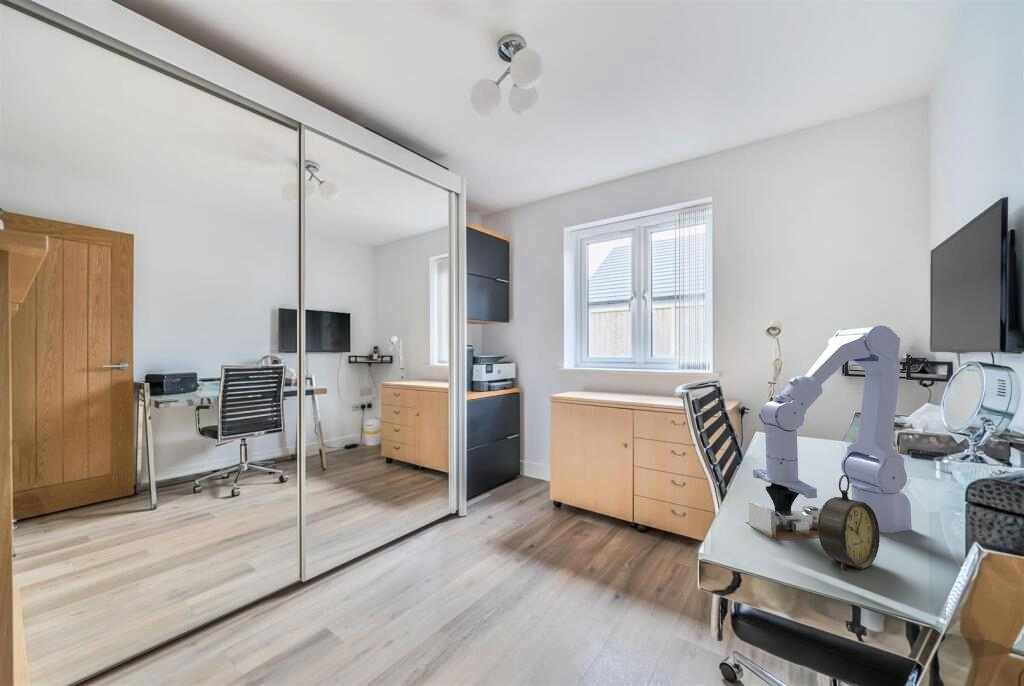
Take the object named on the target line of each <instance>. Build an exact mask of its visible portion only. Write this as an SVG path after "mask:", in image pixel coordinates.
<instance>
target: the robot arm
mask: <svg viewBox="0 0 1024 686" xmlns="http://www.w3.org/2000/svg"><path fill="white" fill-rule="evenodd" d="M900 343H901V338H900V337H899V336H898V335H897V333H896V332H895V331H894V330H892V328H890V327H888V326H886V325H880V324H879V325H875V326H867V327H866V326H865V327H857V328H843V329H840V330H838V331H836V333H835V334H834V335H833V336H832V337H831V338H830V339H829V340H828V346H827V347H826V349H825V350H824V351H823V353H822V354H821V355H820V356H819V358H818V359H817V360H816V361H815V363H814V364H813V365H812V366H811V367H810V369H809V370H808V371H807V372H806V374H805V375H797V376H795V377H791V378H790V379H789V380H788V384H787V386H786V387H785V388H784V389H783V390H782V391H781V392H780V393H779V394H776V395H775V397H774V399H773V400H774V401H773V400H771V401H768V402H766V403H764V404H763V406H761V409H760V412H758V418H759V420H760V423H762V424H763V431H764V432H765V433H764V434H765V465H766V467H765V468H766V469H762V468H754V469H752V477H753V478H755V479H760V480H763V482H766V483H769V484H770V485H766V486H765V491H766V492H767V494H768V495H769V498H770V499H771V500H772V503H773V506H774V511H775V513H776V512H781V511H792V506H793V504H794V502H795V500H796V499H797V497H798V496H799V495H802V496H804V498H806V499H817V498H818V490H817V487H814V486H812V485H810V484H808V483H806V482H804V481H803V480H801V479H799V464H798V463H799V462H798V461H799V460H798V459H799V457H798V455H799V453H798V429H799V428H800V427H802V426H803V425H804V421H805V415H806V413H807V410H808V409H809V408H810V407H811V406H812V405H813V404H815V402H816V401H817V400H818V398H819V397H820V396H821V395H822V394H823V386H822V385H823V384H824V383H825V382H827V380H828V379H830V378H831V376H833V375H834V374H835V373H836V372H838V370H839V369H840V368H841V367H842V366H843V365H845V364H846V363H847V362H849V361H851V362H853V363H855V364H856V365H858V366H859V367H860V368H861V369H863V370H864V372H865V373H864V374H865V375H864V382H863V383H864V384H863V392H862V402H861V409H860V418H859V427H858V428H859V429H858V435H857V440H856V441H855V442H852V443H850V444H849V445H848V446H847V447H846V452H845V455H844V456H843V458H842V460H841V464H840V466H841V467H840V468H841V471H842V473H843V475H847V476H848V478H849V482H850V485H851V487H850V488H851V500H855V501H861V502H864V503H866V504H868V505H869V506H870V507H871V508H872V510H873V511H874V513H875V515H876V518H877V521H878V525H879V533H887V534H890V533H892V534H895V533H898V532H902V531H903V532H905V531H913V526H912V507H911V506H912V505H911V502H910V499H909V498H908V496H907V495H906V494H905V493H904V492H903V491H902V490H903V489H904V488H905V486H906V485H907V481H908V475H907V472H906V468H905V458H904V457H903V456H902V455H901V454H900V452H898V451H897V450H896V449H895V448H894V447H893V438H894V428H895V419H896V411H897V401H898V392H899V383H900V374H901V361H900V357H899V356H900V355H899V354H900V347H901V346H900ZM872 456H873V457H872Z"/></svg>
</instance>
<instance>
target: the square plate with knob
mask: <svg viewBox="0 0 1024 686" xmlns="http://www.w3.org/2000/svg"><path fill="white" fill-rule="evenodd" d="M748 511H749V512H748V515H749V517H748V518H749V521H748V522H750V525H751V526H750V525H749V526H750V527H752V528H754V529H755V528H756V529H755V530H757V529H758V530H757V531H759V532H760V533H762V534H764V533H765V534H764V535H766V534H767V535H766V536H768V537H770V538H772V537H776V530H780V529H782V528H783V520H782V518H781V517H780V515H779V514H777V513H775V510H772V509H771V508H768V507H766V506H764V505H762V504H760V503H758V502H756V501H754V500H753V501H751V500H750V501H748ZM792 533H794V534H796V535H801V534H809V523H808V522H806V521H797V522H792Z"/></svg>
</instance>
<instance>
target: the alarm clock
mask: <svg viewBox="0 0 1024 686" xmlns="http://www.w3.org/2000/svg"><path fill="white" fill-rule="evenodd" d="M844 477H845V478H846V482H847V486H846V489H842V481H843V479H844ZM850 485H851V483H850V482H849V478H848V476H847V475H844V474H843V475H841V476H840V478H839V479H838V490H839V491H840V493H841V496H834V497H831V498H829V499H828V500H826V501H825V503H824V504H823V506H822V507H821V508H820V509H821V511H820V514H819V518H818V536H819V538H818V540H819V543H820V546H821V548H822V550H823V551H824V552H825V554H826V555H828V557H829V558H831V559H832V560H834V561H836V562H839V563H840V565H839V570H840V571H845V570H846V568H847V566H850V567H853V568H855V569H859V570H864V569H867V568H869V567H870V566H871V565H872V564H873V563H874V561H875V560H876V557H877V556H878V551H879V548H880V532H879V525H878V521H877V518H876V515H875V513H874V511H873V510H872V508H871V507H870V506H869V505H868V504H866V503H864V502H861V501H855V500H852V498H849V495H848V494H849V490H850V489H849V488H850Z"/></svg>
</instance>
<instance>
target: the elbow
mask: <svg viewBox="0 0 1024 686" xmlns="http://www.w3.org/2000/svg"><path fill="white" fill-rule="evenodd" d="M821 509H822V508H819V507H816V506H814V505H813V506H812V505H803V506H802V508H801V510H791V511H781V512H776V513H777V514H779V515H780V517H781V518H782V520H783V528H782V529H785V530H792V522H797V521H806V522H808V523H809V529H815V530H818V518H819V514H820V511H821Z"/></svg>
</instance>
